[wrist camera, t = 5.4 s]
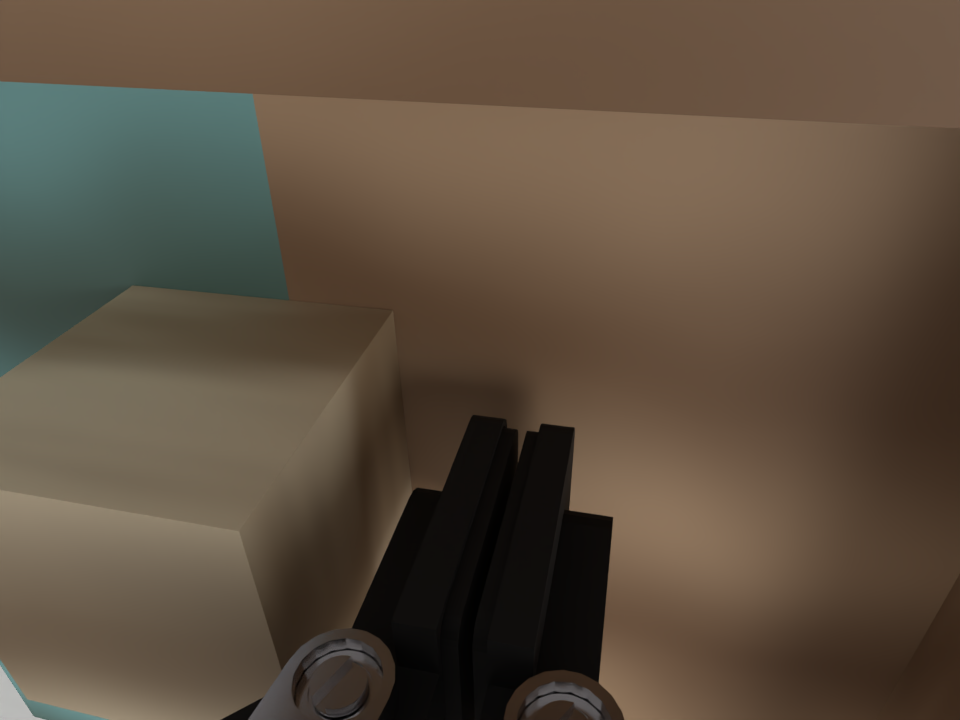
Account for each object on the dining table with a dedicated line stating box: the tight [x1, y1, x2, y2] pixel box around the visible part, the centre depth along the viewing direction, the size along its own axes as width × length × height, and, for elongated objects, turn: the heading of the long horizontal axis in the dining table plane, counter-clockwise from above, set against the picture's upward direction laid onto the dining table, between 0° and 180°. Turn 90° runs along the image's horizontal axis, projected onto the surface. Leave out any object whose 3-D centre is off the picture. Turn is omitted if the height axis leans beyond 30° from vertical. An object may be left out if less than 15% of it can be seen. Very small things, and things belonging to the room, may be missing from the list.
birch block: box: [0, 285, 412, 720], centre depth 11 cm, size 5×5×5 cm
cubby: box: [0, 0, 960, 720], centre depth 14 cm, size 24×26×6 cm
